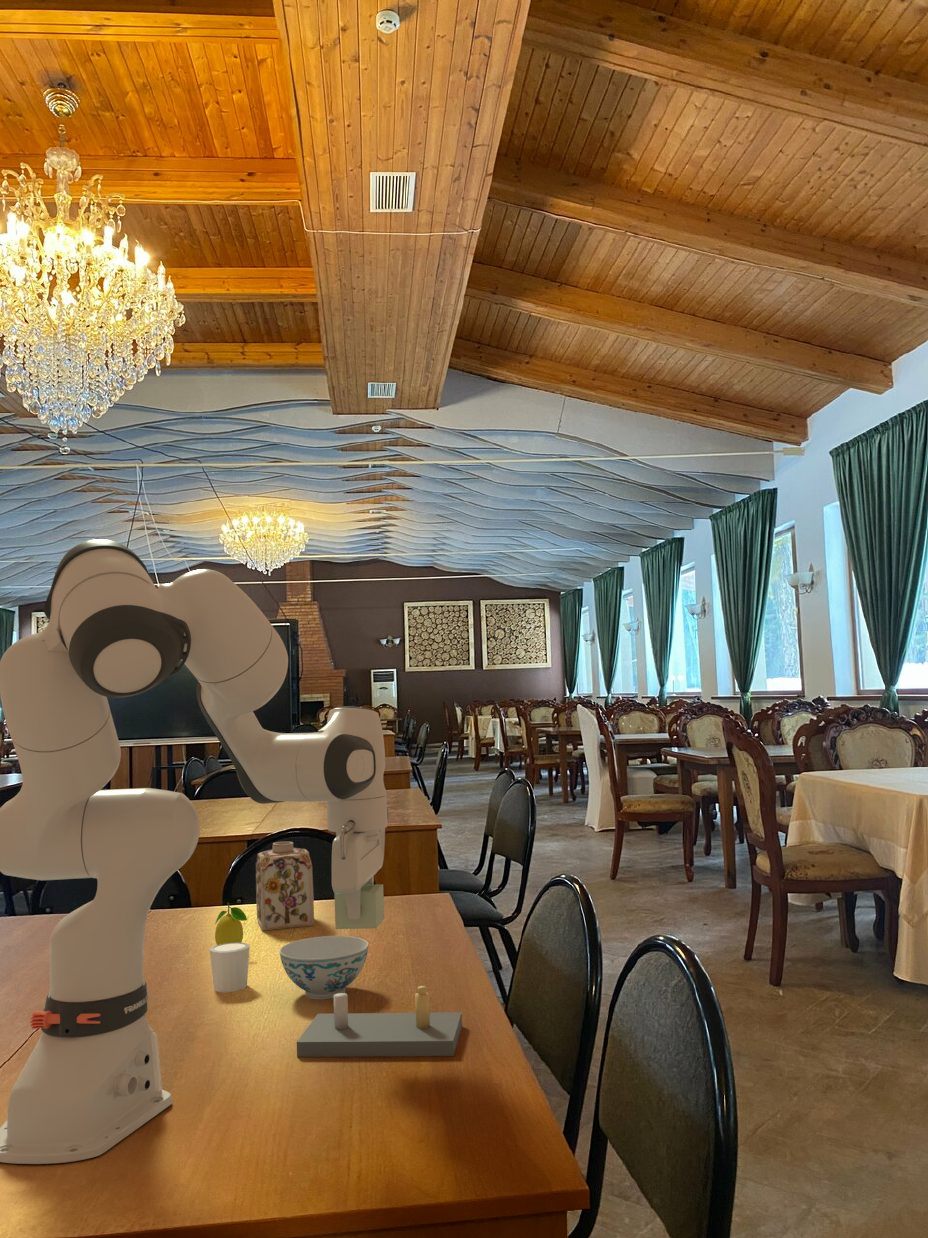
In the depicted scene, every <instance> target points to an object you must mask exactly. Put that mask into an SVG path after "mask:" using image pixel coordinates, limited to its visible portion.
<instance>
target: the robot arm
mask: <svg viewBox="0 0 928 1238" xmlns="http://www.w3.org/2000/svg"><path fill="white" fill-rule="evenodd" d="M42 611H43V613H44V615H45V617H46V618H47V620H48V624H47V626H46V627H45V628H43V630H41V631H39V632H36V633H33V634H29V635H25V636H24V637H22V638H21V639H18V640H17V641H16V642H15V641H14V643H13V644H11V645H10V646H8V648H7V650H5V652H4V653H3V655H2V656H1V659H0V701H1V707H2V712H3V716H4V719H5V723H6V726H7V730H8V733H9V736H10V738H11V741H12V743H13V747H14V750H15V754H16V756H17V760H18V764H19V767H20V772H21V775H22V785H21V788H20V790H19V792H17V794H16V795H15V796H14V797H12V798H11V799H9V800H8V801H6V802H5V803H3V805H1V806H0V873H1V874H3V875H4V876H9V877H10V876H11V877H16V878H22V879H27V880H36V881H54V880H55V881H56V880H58V881H59V880H74V879H76V880H77V879H91V878H92V879H96V880H97V885H96V886H97V887H96V889H97V890H96V893H95V896H94V898H93V899H92V900H91V901H88V902H87V903H85V904H83V905H81V906H80V907H78V908H76V909H74V910H73V911H71V912H69V913H68V914H67V915H65V916H64V917H62V919H61V920H59V921H58V923H57V924H56V925H55V927H54V928H53V929H52V933H51V935H50V938H49V993H48V994H47V996H46V999H45V1003H44V1006H43V1008H42V1010H35V1011H33V1012H32V1014H31V1017H30V1021H29V1023H30V1027H31V1029H32V1030H39V1029H40V1030H41V1032H42V1033H41V1034H40V1036H39V1039H38V1041H37V1042H36V1045H35V1047H34V1048H33V1049H32V1051H31V1054H30V1055H29V1057H28V1058H27V1060H26V1063H25V1065H24V1066H23V1068H22V1070H21V1072H20V1073H19V1075H18V1078H17V1080H16V1081H15V1083H14V1085H13V1086H12V1089H11V1090H10V1093H9V1096H8V1097H9V1098H8V1103H7V1104H8V1105H7V1117H6V1118H7V1119H6V1120H5V1122H3V1124H2V1125H1V1126H0V1163H7V1164H18V1165H19V1164H21V1165H22V1164H24V1165H25V1164H26V1165H42V1164H45V1165H49V1164H61V1163H71V1162H77V1161H78V1162H79V1161H83V1160H88V1159H91V1158H95V1157H99V1156H101V1155H103V1154H104V1153H106V1152H107V1151H108V1150H110V1149H111V1148H112V1147H114V1146H115V1145H117V1144H118V1143H119V1142H121V1141H122V1140H124V1139H126V1137H128V1136H129V1135H130V1134H132V1133H133V1132H135V1131H136V1130H138V1129H140V1127H142V1126H143V1125H145V1124H146V1123H147V1122H149V1121H151V1119H153V1118H155V1116H157V1115H159V1114H160V1113H162V1112H163V1111H164V1110H165V1109H167V1108H168V1107H170V1106H171V1105H172V1104H173V1098H172V1093H170V1092H169V1091H167V1090H164V1089H163V1085H162V1083H163V1082H162V1072H161V1061H160V1060H161V1059H160V1049H159V1039H158V1035H157V1033H156V1032H155V1030H153V1028H152V1027H151V1025H150V1023H149V1022H148V1020H147V1017H146V1013H147V1012H148V1000H149V992H148V986H147V982H146V981H145V980H144V951H145V950H144V949H145V946H144V945H145V931H146V924H147V920H148V917H149V916H148V915H149V912H150V909H151V908H152V907H151V906H152V904H153V902H154V900H155V898H156V897H157V895H158V893H159V892H160V890H161V888H162V887H163V886H164V884H165V883H166V882H167V880H168V879H170V878H171V877H172V876H173V874H175V873H176V872H177V871H178V870H179V869H180V868H182V867H183V866H184V865H185V864H186V863H187V862H188V861H189V859H190V858H191V857H192V855H193V854H194V852H195V850H196V848H197V846H198V843H199V837H200V832H201V831H200V829H201V827H200V826H201V825H200V818H199V815H198V812H197V810H196V808H195V807H196V806H194V803H192V801H191V800H190V798H189V797H187V796H186V795H185V794H184V793H183V792H179V791H172V790H166V789H159V788H150V787H139V788H118V789H113V788H112V789H103V788H104V787H105V786H106V785H107V784H108V783H109V782H110V781H111V779H112V778H113V777H114V776H115V775H116V773H117V771H118V768H119V766H120V762H121V759H122V758H121V757H122V750H121V749H122V748H121V745H120V741H119V737H118V734H117V729H116V725H115V723H114V718H113V715H112V712H111V708H110V704H109V701H108V698H111V699H112V698H113V699H120V698H121V699H122V698H128V697H129V698H130V697H134V696H137V695H140V694H142V693H145V692H147V691H149V690H151V689H153V688H155V687H157V686H158V685H160V684H161V683H163V682H164V681H165V680H166V679H167V678H168V677H169V676H172V675H174V674H177V673H178V672H179V671H180V670H181V669H182V668H183V666H184V665H185V666H186V668H187V669H188V670H189V671H190V672H191V673H192V675H193V676H194V677H195V679H196V680H197V684H196V692H195V693H196V695H195V696H196V700H197V703H198V705H199V709H200V710H201V713H202V715H203V716H204V719H205V720H206V722H207V724H208V725H209V727H210V729H211V730H212V731H213V733H214V735H215V736H216V738H217V740H218V741H219V743H220V745H221V746H222V748H223V750H224V751H225V753H226V754H227V756H228V757H229V759H230V761H231V763H232V765H233V766H234V769H235V773H236V775H237V778H238V781H239V784H240V785H241V788H242V790H243V791H244V793H245V794H246V795H247V796H248V797H249V799H251V800H252V801H254V802H255V803H258V804H263V805H266V804H276V803H278V804H279V803H283V802H295V803H296V802H304V803H305V802H307V803H309V802H313V803H314V802H315V803H316V802H326V814H327V815H326V819H327V820H326V823H327V825H326V826H327V830H328V831H329V832H333V833H335V836H336V837H335V838H334V839H333V840H332V846H331V848H332V849H331V887H332V890H333V893H334V894H335V893H344V897H345V901H346V904H347V911H348V918H349V919H359V918H360V917H361V915H362V904H361V903H360V894H361V888H362V887H363V886H364V885H371V884H374V881H375V877H374V875H376V874H377V872H379V870H380V869H382V867H383V865H384V860H385V859H384V857H385V845H386V844H385V843H386V842H385V841H386V828H387V827H388V820H389V808H388V804H387V803H388V802H387V799H388V797H387V791H386V787H385V782H384V772H385V769H386V752H385V751H386V749H385V738H384V732H383V727H382V722H381V717H380V715H379V713H378V712H377V711H375V710H374V709H372V708H369V707H366V706H365V707H364V706H353V705H351V706H350V705H346V706H337V707H334V708H332V709H330V710H329V712H328V714H327V719H326V720H327V721H326V724H325V725H324V726H322V728H320V729H318V730H317V732H316V731H315V732H292V733H291V732H290V733H288V732H287V733H286V732H275V731H271V730H268V729H264V728H263V727H262V725H261V724H260V722H259V720H258V718H257V716H256V715H255V714H256V713H254V711H257V710H258V709H260V708H262V707H263V706H265V705H266V704H267V703H268V702H269V701H270V700H271V699H273V698H274V696H275V695H276V694H277V693H278V692H279V690H280V689H281V688H282V686H283V684H284V681H285V679H286V676H287V673H288V667H289V656H288V651H287V649H286V646H285V643H284V641H283V640H282V638H281V635H279V633H278V632H277V630H276V628H274V626H273V625H272V623H271V622H270V621H269V620H268V618H267V617H266V616H265V614H264V613H263V611H262V610H261V609H260V608H259V607H258V605H257V604H256V603H255V602H254V601H253V600H252V599H251V597H249V595H248V594H247V593H245V591H244V590H242V589H241V588H240V587H239V586H238V585H237V583H235V582H233V581H232V580H231V579H230V578H229V577H228V576H227V575H225V574H224V573H223V572H222V573H221V572H220V571H217V570H214V569H209V568H202V569H201V568H200V569H196V570H191V571H189V572H185V573H183V574H182V575H180V576H179V577H177V578H176V579H175V580H173V581H172V582H170V583H169V582H168V583H157V584H156V585H155V584H154V582H153V580H152V578H151V577H150V573H149V571H148V568H147V566H146V565H145V563H144V562H143V560H142V559H141V558H140V557H139V556H138V555H137V554H136V553H135V552H134V551H133V550H131V548H128V546H126V545H124V544H122V543H120V542H118V541H114V540H112V539H102V538H98V539H89V540H86V541H84V542H80V543H78V544H77V545H75V546H73V547H72V548H71V549H69V550H68V551H67V552H66V553H65V554H64V556H62V559H60V561H59V563H58V565H57V568H56V569H55V573H54V576H53V579H52V582H51V586H50V589H49V592H48V595H47V597H46V600H45V602H44V605H43V610H42ZM180 661H181V662H180Z"/></svg>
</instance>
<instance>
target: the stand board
mask: <svg viewBox="0 0 928 1238" xmlns="http://www.w3.org/2000/svg"><path fill="white" fill-rule="evenodd" d="M414 998H415V999H414V1002H415V1004H414V1005H415V1012H373V1013H372V1012H370V1013H369V1012H367V1013H366V1012H365V1013H363V1012H362V1013H360V1012H359V1013H357V1012H356V1013H355V1012H353V1013H352V1012H351V1013H349V1008H348V1007H349V1004H348V1000H349V999H348V994H347V993H346V992H345V993H338V994H335V995H334V998H333V1013H317V1014H316V1016H315V1017H314V1018H313V1020H311V1022H310V1024H309V1025H308V1026H307V1027H306V1029H305V1030H304V1031H303V1033H302V1034H301V1036H300V1037H299V1038H298V1040H297V1041H296V1057H297V1058H315V1057H316V1058H321V1057H322V1058H325V1057H327V1058H329V1057H331V1058H332V1057H333V1058H337V1057H342V1058H344V1057H345V1058H347V1057H349V1058H350V1057H352V1058H353V1057H354V1058H355V1057H359V1058H360V1057H361V1058H362V1057H454V1056H455V1053H456V1050H457V1049H456V1048H457V1047H458V1046H457V1045H458V1042H459V1038H460V1035H461V1032H462V1027H463V1016H462V1015H463V1014H462V1013H463V1012H462V1011H461V1012H460V1011H459V1012H456V1011H455V1012H449V1011H448V1012H446V1011H445V1012H444V1011H443V1012H430V994H429V992H427V987H426V985H419V986H417V992H416V993H415V994H414Z"/></svg>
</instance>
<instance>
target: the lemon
mask: <svg viewBox="0 0 928 1238" xmlns="http://www.w3.org/2000/svg"><path fill="white" fill-rule="evenodd" d="M226 913H227V914H226ZM241 921H244V922H245V921H248V917H247V916H246V914H245V912H244V911H243V910H242V909H241V908H240V907H237V906H234V907H230V902H227V910H222V911H220V912H219V914H218V916H217V918H216V920H215V923H214V925H216V927H215V932H214V939H215V944H216V945H220V944H225V943H243V938H244V929H243V928H244V927H243V924H242V922H241Z"/></svg>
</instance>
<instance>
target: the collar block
mask: <svg viewBox="0 0 928 1238" xmlns="http://www.w3.org/2000/svg"><path fill="white" fill-rule="evenodd" d="M384 898H385V897H384V883H383V884H381V883H379V884H376V883H375V884H374V883H373V884H371V885H364V886H363V887H362V888H361V894H360V903H361V904H362V915H361V917H360V918H359V919H349V918H348V911H347V904H346V901H345V897H344V893H334V919H335V920H334V921H335V923H334V925H335V928H334V929H335V930H349V929H350V930H356V929H357V930H358V929H359V930H360V929H377V928H378V927H379V926H380V925H381V923H383V921H384V919H385V899H384Z"/></svg>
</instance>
